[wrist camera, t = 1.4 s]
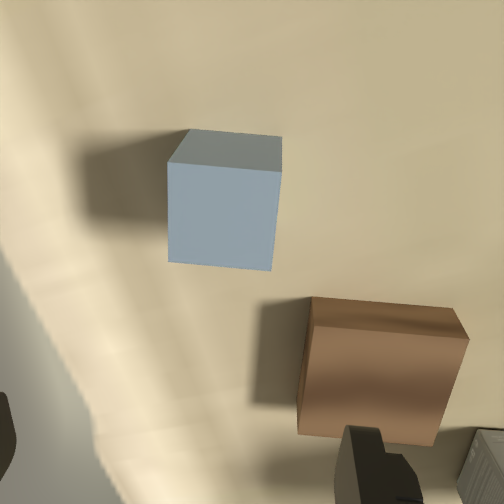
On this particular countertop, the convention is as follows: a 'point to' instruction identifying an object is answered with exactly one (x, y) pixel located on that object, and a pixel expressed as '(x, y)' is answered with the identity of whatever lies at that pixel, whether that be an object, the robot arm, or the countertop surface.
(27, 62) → the countertop surface
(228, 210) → the blue block
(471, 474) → the skincare box
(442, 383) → the walnut base
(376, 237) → the countertop surface
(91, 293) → the countertop surface
